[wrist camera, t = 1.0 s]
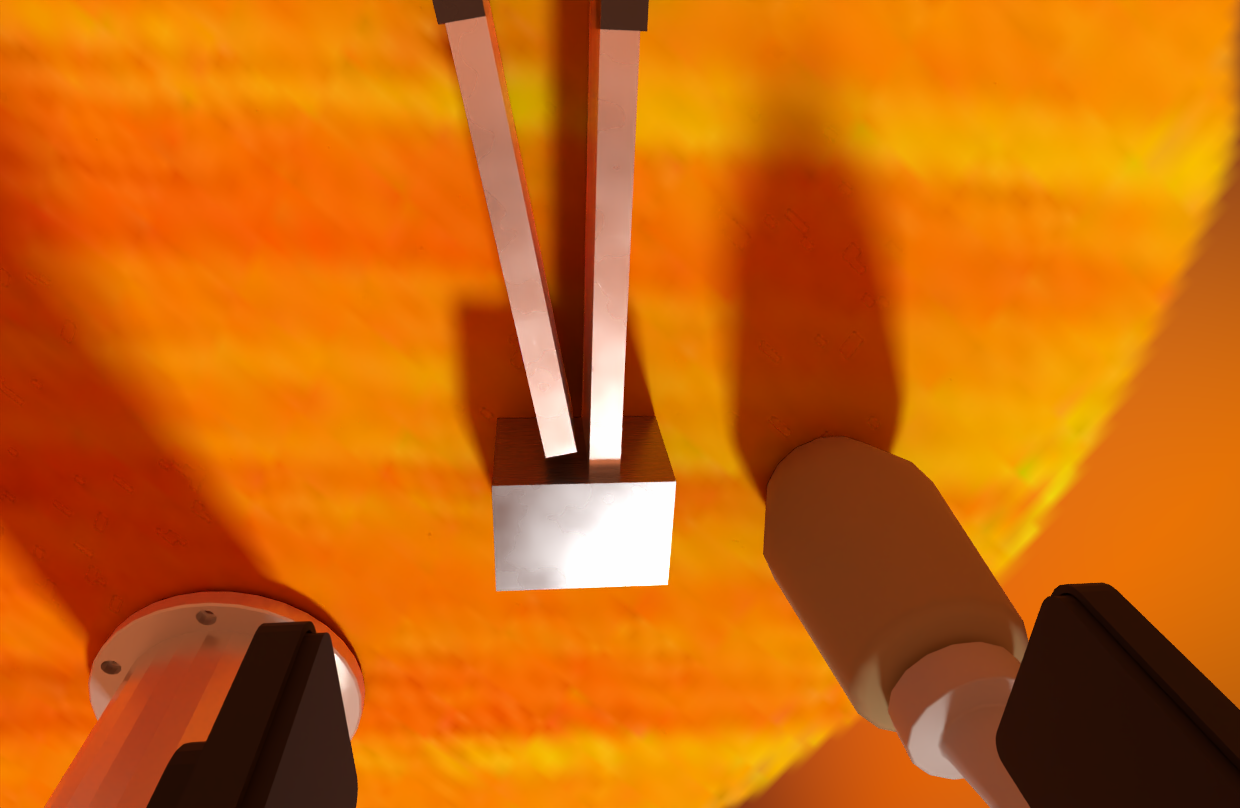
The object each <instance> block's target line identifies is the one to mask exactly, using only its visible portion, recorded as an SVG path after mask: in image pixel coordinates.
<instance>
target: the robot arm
mask: <svg viewBox="0 0 1240 808" xmlns="http://www.w3.org/2000/svg"><path fill="white" fill-rule="evenodd" d="M88 684H89V696H90V702H91V705H92V708H93V710H94V713H95V716H96V719H97V720H98V721H97V723H96V725H95V726H94V728H93V729H92V731H91V733H90V734H89V736H88V737H87V739H86V741H85V742H84V744H83V745H82V747H81V749H80V750H79V752H78V754H77V755H76V757H75V758H74V760H73V762H72V763H71V765H70V766H69V768H68V770H67V771H66V773H65V774H64V776H63V778H62V779H61V781H60V783H59V784H58V786H57V787H56V789H55V791H54V792H53V794H52V795H51V797H50V799H49V800H48V802H47V803H46V805H45V807H44V808H356V803H357V791H358V783H357V774H356V769H355V764H354V758H353V753H352V748H351V742H350V741H351V739H352V738H353V736H354V734H355V732H356V730H357V728H358V725H359V721H360V718H361V714H362V710H363V705H364V696H365V688H364V682H363V675H362V672H361V670H360V668H359V665H358V663H357V661H356V658H355V657H354V655H353V654H352V652H351V651H350V650H349V648H348V647H347V646H346V644H345V643H344V641H343V640H342V639H340V638H339V637H338V636H337V635H336V634H335V633H334V632H333V631H332V630H331V629H330V628H329V627H327V626H326V625H325V624H323V623H321V622H320V621H318V620H317V619H315V618H314V617H312V616H311V615H309V614H308V613H306V612H303V611H301V610H299V609H297V608H294V607H292V606H290V605H288V604H286V603H283V602H280V601H276V600H273V599H269V598H266V597H262V596H258V595H252V594H245V593H238V592H197V593H190V594H184V595H177V596H174V597H171V598H168V599H164V600H161V601H158V602H155V603H152V604H151V605H149V606H147V607H145V608H143V609H141V610H139V611H137V612H135V613H134V614H132V615H131V616H130V617H128V618H127V619H126V620H125V621H124V622H122V623H121V624H120V625H119V626H118V627H116V629H115V630H114V631H113V633H112V634H111V635H110V637H109V638H108V639H107V641H106V642H105V643H104V645H103V646H102V648H101V649H100V651H99V653H98V654H97V656H96V658H95V659H94V661H93V664H92V668H91V673H90V677H89V682H88ZM996 748H997V752H998V755H999V758H1000V760H1001V762H1002V764H1003V765H1004V767H1005V769H1006V770H1007V772H1008V773H1009V775H1010V776H1011V778H1012V780H1013V781H1014V783H1015V784H1016V786H1017V788H1018V789H1019V791H1020V792H1021V794H1022V795H1023V797H1024V799H1025V800H1026V802H1027V803H1028V805H1029V806H1030V808H1240V710H1239V709H1238V708H1237V707H1236V706H1235V705H1234V704H1233V703H1232V702H1231V701H1230V700H1229V699H1228V698H1227V697H1226V696H1225V695H1224V694H1223V693H1222V692H1221V691H1220V690H1219V689H1218V688H1217V687H1215V685H1214V684H1213V683H1212V682H1211V681H1210V680H1208V678H1206V677H1205V676H1204V675H1203V674H1202V673H1201V672H1200V671H1199V670H1198V669H1197V668H1196V667H1195V666H1194V665H1193V664H1192V663H1191V662H1190V661H1189V660H1188V659H1187V658H1186V657H1185V656H1184V655H1183V654H1182V653H1181V652H1180V651H1179V650H1178V649H1177V648H1176V647H1175V646H1174V645H1172V643H1171V642H1170V641H1168V640H1167V639H1166V638H1165V637H1164V636H1163V635H1162V634H1161V633H1160V632H1159V631H1158V630H1157V629H1156V628H1155V627H1154V626H1153V625H1152V624H1151V623H1150V622H1149V621H1148V620H1147V619H1146V618H1145V617H1144V616H1143V615H1142V614H1141V613H1140V612H1139V611H1138V610H1137V609H1136V608H1135V607H1134V606H1133V605H1132V604H1131V603H1129V601H1127V600H1126V599H1125V598H1124V597H1123V596H1122V595H1121V594H1120V593H1119V592H1118V591H1117V590H1116V589H1114V588H1113V587H1112V586H1110V585H1109V584H1105V583H1086V584H1066V585H1059V586H1058V587H1057V588H1056V589H1054V592H1053V593H1052V595H1051V596H1049V597H1047V598H1046V599H1045V600H1044V601H1043V603H1042V606H1041V608H1040V611H1039V614H1038V617H1037V619H1036V622H1035V625H1034V628H1033V631H1032V634H1031V636H1030V639H1029V642H1028V645H1027V648H1026V650H1025V653H1024V656H1023V659H1022V662H1021V665H1020V667H1019V670H1018V673H1017V676H1016V679H1015V681H1014V684H1013V687H1012V690H1011V693H1010V696H1009V698H1008V701H1007V704H1006V707H1005V710H1004V712H1003V715H1002V718H1001V721H1000V724H999V727H998V729H997V733H996Z"/></svg>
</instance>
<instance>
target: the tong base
mask: <svg viewBox="0 0 1240 808" xmlns="http://www.w3.org/2000/svg"><path fill="white" fill-rule="evenodd" d="M648 2H649V0H590V2H589V55H588V109H587V163H586V216H585V270H584V324H583V378H582V417H573V422H574V431H575V440H576V449H577V452H574V453H569V454H564V455H558V456H553V457H548V458H546V456H545V452H544V448H543V443H542V439H541V435H540V430H539V426H538V422H537V418H497V430H496V442H495V455H494V467H493V479H492V500H493V524H494V547H495V571H496V591H513V590H538V589H564V588H590V587H615V586H641V585H667V584H668V573H669V561H670V549H671V537H672V525H673V513H674V501H675V489H676V480H675V476H674V473H673V470H672V467H671V464H670V461H669V458H668V454H667V451H666V448H665V445H664V442H663V439H662V436H661V433H660V429H659V426H658V423H657V420H656V417H655V416H627V417H623V396H624V374H625V351H626V329H627V307H628V285H629V263H630V241H631V219H632V197H633V174H634V152H635V130H636V108H637V86H638V64H639V42H640V31H647V22H648Z"/></svg>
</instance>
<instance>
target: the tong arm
mask: <svg viewBox="0 0 1240 808" xmlns="http://www.w3.org/2000/svg"><path fill="white" fill-rule="evenodd" d="M433 5H434V9H435V13H436V17H437V22H438V24H445V25H446V29H447V33H448V38H449V42H450V46H451V51H452V55H453V59H454V64H455V68H456V72H457V77H458V81H459V85H460V90H461V94H462V98H463V103H464V107H465V111H466V115H467V120H468V124H469V128H470V133H471V137H472V141H473V146H474V150H475V154H476V159H477V163H478V167H479V172H480V176H481V180H482V184H483V189H484V193H485V197H486V202H487V206H488V210H489V215H490V219H491V223H492V228H493V232H494V236H495V241H496V245H497V249H498V254H499V258H500V262H501V266H502V271H503V275H504V279H505V284H506V288H507V292H508V297H509V301H510V305H511V310H512V314H513V318H514V323H515V327H516V331H517V335H518V340H519V344H520V348H521V353H522V357H523V361H524V366H525V370H526V374H527V379H528V383H529V387H530V392H531V396H532V400H533V405H534V409H535V413H536V417H537V422H538V426H539V430H540V435H541V439H542V443H543V448H544V452H545V456H546V458H548V457H553V456H558V455H564V454H569V453H574V452H577V449H576V440H575V431H574V422H573V412H572V403H571V397H570V392H569V387H568V382H567V378H566V373H565V368H564V363H563V358H562V353H561V348H560V343H559V339H558V334H557V329H556V324H555V319H554V314H553V309H552V305H551V300H550V295H549V290H548V285H547V280H546V275H545V271H544V266H543V261H542V256H541V251H540V246H539V241H538V236H537V232H536V227H535V222H534V217H533V212H532V207H531V202H530V198H529V193H528V188H527V183H526V178H525V173H524V168H523V163H522V159H521V154H520V149H519V144H518V139H517V134H516V129H515V125H514V120H513V115H512V110H511V105H510V100H509V95H508V91H507V86H506V81H505V76H504V71H503V66H502V61H501V56H500V52H499V47H498V42H497V37H496V32H495V27H494V22H493V18H492V12H491V7H490V3H489V0H433Z"/></svg>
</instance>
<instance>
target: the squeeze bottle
mask: <svg viewBox="0 0 1240 808" xmlns="http://www.w3.org/2000/svg"><path fill="white" fill-rule="evenodd" d="M763 554H764V557H765V559H766V561H767V563H768V565H769V568H770V570H771V572H772V574H773V576H774V579H775V580H776V582H777V583H778V585H779V587H780V588H781V590H782V592H783V593H784V595H785V596H786V598H787V600H788V601H789V603H790V604H791V606H792V608H793V609H794V611H795V613H796V614H797V616H798V617H799V619H800V621H801V622H802V624H803V625H804V627H805V629H806V630H807V632H808V634H809V635H810V637H811V638H812V640H813V642H814V643H815V645H816V646H817V648H818V650H819V651H820V653H821V655H822V656H823V658H824V659H825V661H826V663H827V664H828V666H829V667H830V669H831V671H832V672H833V674H834V675H835V677H836V679H837V680H838V682H839V684H840V685H841V687H842V688H843V690H844V692H845V693H846V695H847V696H848V698H849V700H850V701H851V703H852V705H853V706H854V708H855V709H856V711H857V713H858V714H860V715H861V716H862V717H864V718H865V719H867V720H868V721H869V722H871V723H872V724H874V725H875V726H876V727H878V728H880V729H884V730H889V731H894V732H897V734H898V736H899V738H900V739H901V741H902V743H903V745H904V747H905V749H906V751H907V753H908V755H909V757H910V759H911V761H912V762H913V764H915V765H916V766H918V767H919V768H920V769H922V770H923V771H925V772H926V773H928V774H929V775H933V776H939V777H943V778H949V779H961V778H965V780H966V781H967V782H968V783H969V784H970V785H971V786H972V787H973V789H974V790H975V791H976V792H977V793H978V794H979V795H980V796H981V797H982V798H983V800H984V801H985V802H986V803H987V804H988V805H989V806H990V808H1030V806H1029V805H1028V803H1027V802H1026V800H1025V799H1024V797H1023V795H1022V794H1021V792H1020V791H1019V789H1018V788H1017V786H1016V784H1015V783H1014V781H1013V780H1012V778H1011V776H1010V775H1009V773H1008V772H1007V770H1006V769H1005V767H1004V765H1003V764H1002V762H1001V760H1000V758H999V755H998V752H997V748H996V733H997V729H998V727H999V724H1000V721H1001V718H1002V715H1003V712H1004V710H1005V707H1006V704H1007V701H1008V698H1009V696H1010V693H1011V690H1012V687H1013V684H1014V681H1015V679H1016V676H1017V673H1018V670H1019V667H1020V665H1021V662H1022V659H1023V656H1024V653H1025V650H1026V648H1027V645H1028V638H1027V634H1026V630H1025V626H1024V622H1023V620H1022V619H1021V617H1020V616H1019V614H1018V613H1017V611H1016V609H1015V608H1014V606H1013V605H1012V603H1011V602H1010V600H1009V599H1008V597H1007V596H1006V594H1005V593H1004V591H1003V589H1002V588H1001V586H1000V585H999V583H998V582H997V580H996V579H995V577H994V576H993V574H992V573H991V571H990V569H989V568H988V566H987V565H986V563H985V562H984V560H983V559H982V557H981V556H980V554H979V553H978V551H977V549H976V548H975V546H974V545H973V543H972V542H971V540H970V539H969V537H968V536H967V534H966V532H965V531H964V529H963V528H962V526H961V525H960V523H959V522H958V520H957V519H956V517H955V516H954V514H953V512H952V511H951V509H950V508H949V506H948V505H947V503H946V502H945V500H944V499H943V497H942V496H941V494H940V492H939V491H938V489H937V488H936V486H935V485H934V483H933V482H932V481H931V480H930V479H929V478H928V477H927V476H926V475H925V474H924V473H923V472H922V471H921V470H919V469H918V468H917V467H916V466H915V465H914V464H913V463H912V462H910V461H908V460H905V459H903V458H900V457H898V456H895V455H893V454H891V453H888V452H886V451H883V450H881V449H878V448H876V447H873V446H871V445H869V444H866V443H864V442H860V441H857V440H854V439H851V438H848V437H844V436H838V437H825V438H818V439H816V440H813V441H811V442H809V443H806V444H804V445H802V446H799V447H797V448H795V449H794V450H793V451H792V452H791V453H790V454H789V455H788V456H787V457H785V458H784V459H783V460H782V461H781V462H780V463H779V464H778V465H777V467H776V469H775V471H774V473H773V474H772V476H771V478H770V480H769V482H768V484H767V497H766V513H765V530H764V548H763Z"/></svg>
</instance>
